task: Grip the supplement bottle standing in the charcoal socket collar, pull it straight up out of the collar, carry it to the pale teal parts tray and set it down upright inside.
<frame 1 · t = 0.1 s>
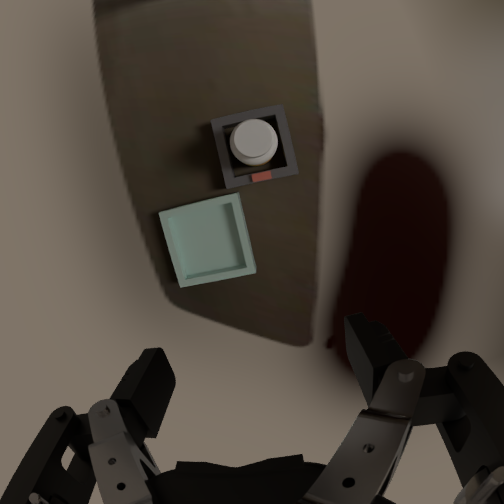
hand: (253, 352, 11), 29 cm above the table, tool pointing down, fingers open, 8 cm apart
socket collar: (254, 147, 36), on the table
supplement bottle: (255, 147, 37), resting in socket collar
parts tray: (209, 238, 40), on the table
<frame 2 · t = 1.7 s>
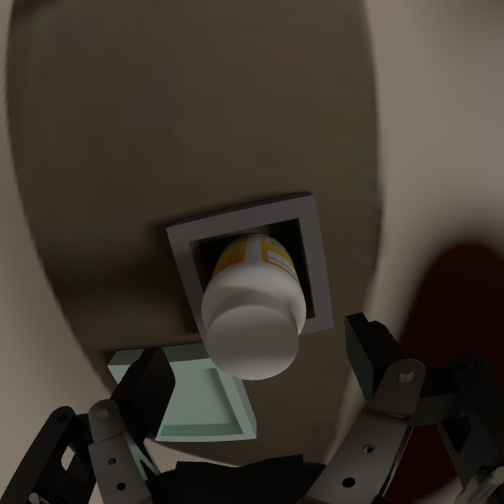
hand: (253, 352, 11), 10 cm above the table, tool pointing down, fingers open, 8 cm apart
socket collar: (255, 268, 21), on the table
supplement bottle: (255, 267, 21), resting in socket collar
parts tray: (188, 391, 24), on the table
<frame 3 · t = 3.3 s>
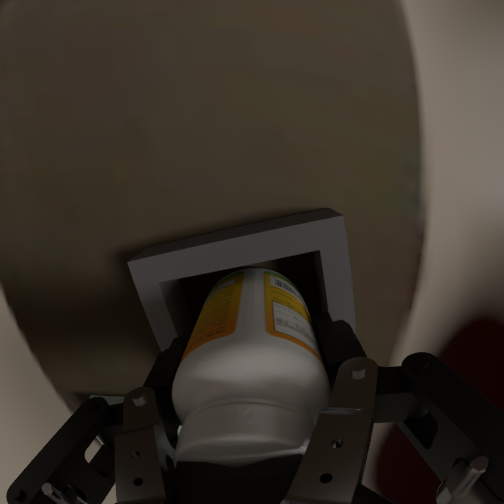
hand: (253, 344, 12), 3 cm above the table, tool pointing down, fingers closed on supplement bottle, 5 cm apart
socket collar: (255, 313, 15), on the table
supplement bottle: (255, 311, 15), resting in socket collar, touching gripper
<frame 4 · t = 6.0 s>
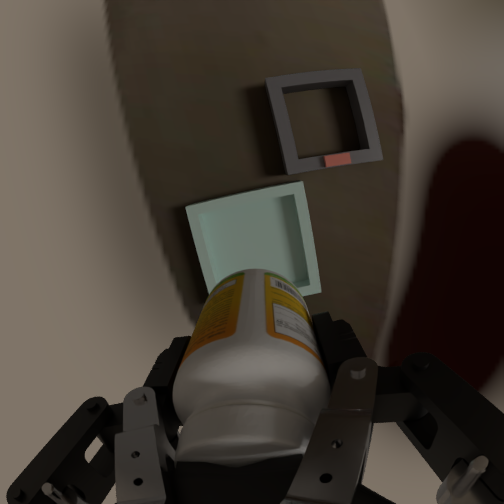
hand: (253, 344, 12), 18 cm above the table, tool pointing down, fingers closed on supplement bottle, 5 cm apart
socket collar: (321, 121, 25), on the table
supplement bottle: (255, 312, 15), point 14 cm above the table, touching gripper
parts tray: (256, 244, 29), on the table
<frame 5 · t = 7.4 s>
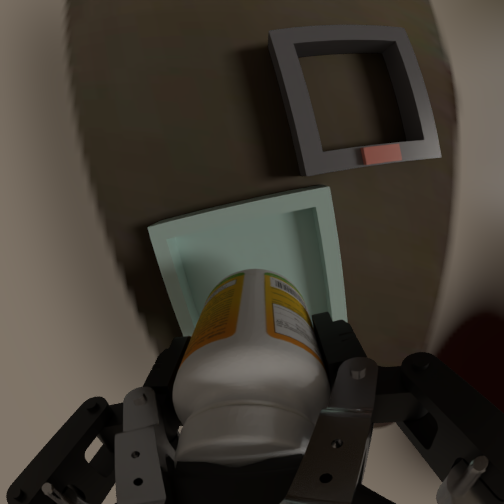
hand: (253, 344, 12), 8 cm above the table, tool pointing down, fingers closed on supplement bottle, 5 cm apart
socket collar: (352, 98, 16), on the table
supplement bottle: (255, 312, 15), point 5 cm above the table, touching gripper
parts tray: (256, 279, 20), on the table
when the fingers open (5 cm above the table, at t = 8.8 s): supplement bottle moves 1 cm, resting on parts tray.
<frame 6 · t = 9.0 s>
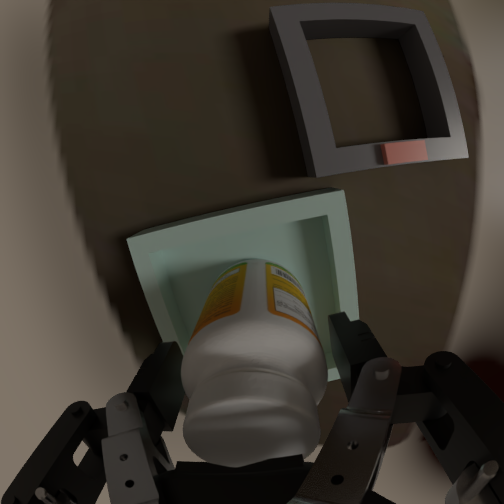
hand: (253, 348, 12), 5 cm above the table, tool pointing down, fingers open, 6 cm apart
socket collar: (366, 87, 13), on the table
supplement bottle: (257, 300, 16), point 1 cm above the table, touching parts tray
parts tray: (255, 298, 17), on the table
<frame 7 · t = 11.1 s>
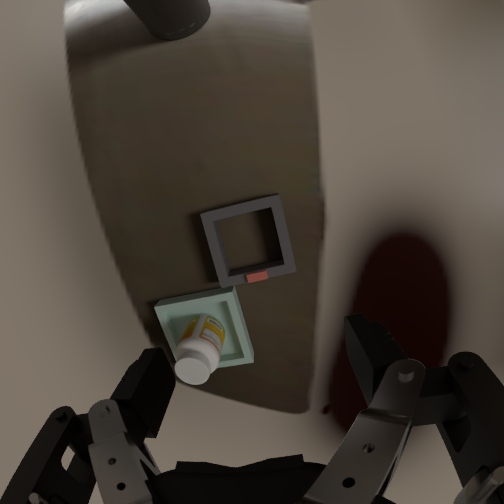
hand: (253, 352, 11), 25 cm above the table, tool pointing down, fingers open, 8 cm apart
socket collar: (249, 238, 36), on the table
supplement bottle: (207, 329, 38), point 1 cm above the table, touching parts tray
parts tray: (207, 327, 39), on the table
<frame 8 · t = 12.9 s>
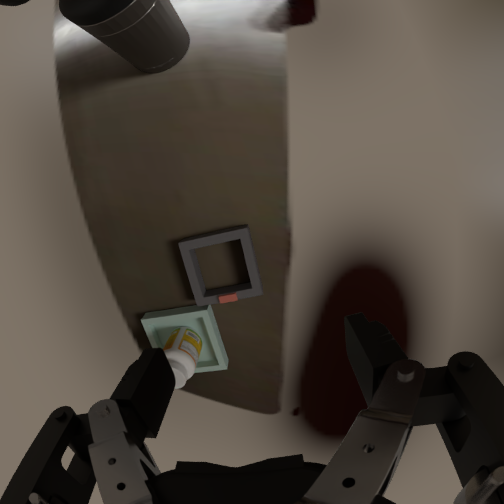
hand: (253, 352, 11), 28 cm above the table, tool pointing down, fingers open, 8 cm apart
socket collar: (223, 263, 40), on the table
supplement bottle: (186, 339, 43), point 1 cm above the table, touching parts tray
parts tray: (187, 337, 44), on the table
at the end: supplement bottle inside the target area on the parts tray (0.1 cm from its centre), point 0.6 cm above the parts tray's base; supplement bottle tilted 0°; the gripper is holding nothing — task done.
